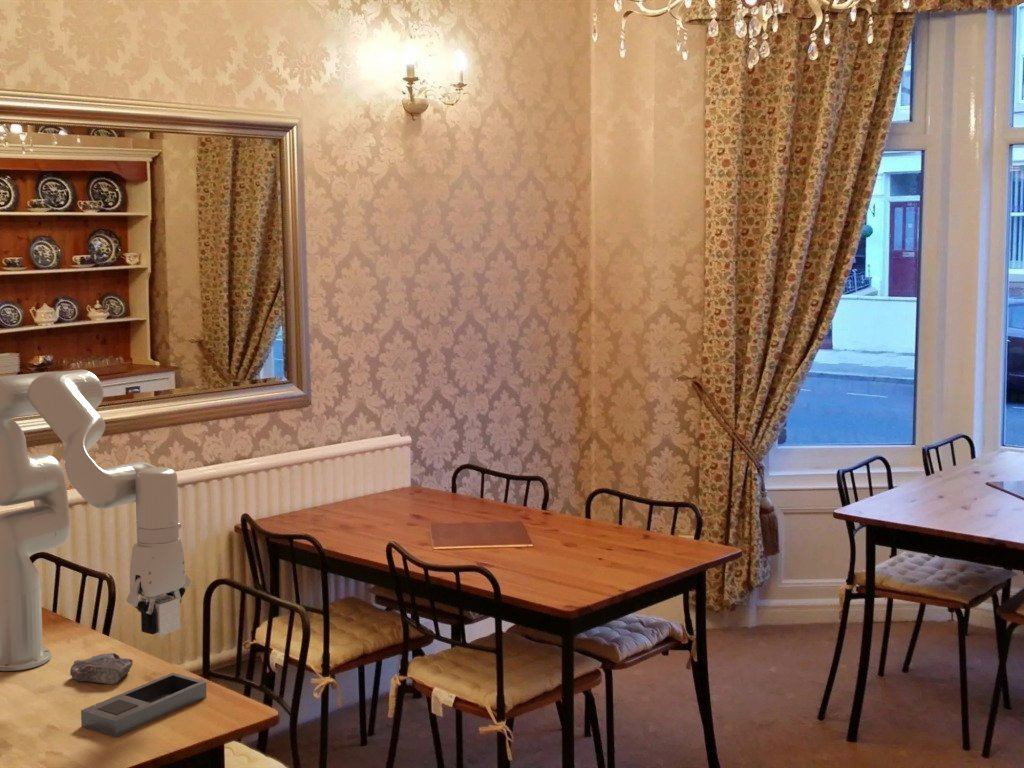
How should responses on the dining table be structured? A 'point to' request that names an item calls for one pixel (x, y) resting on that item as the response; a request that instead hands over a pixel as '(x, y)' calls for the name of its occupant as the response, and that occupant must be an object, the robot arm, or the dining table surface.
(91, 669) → the rock
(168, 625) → the gray cube
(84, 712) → the grey tray with recess
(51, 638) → the dining table surface
